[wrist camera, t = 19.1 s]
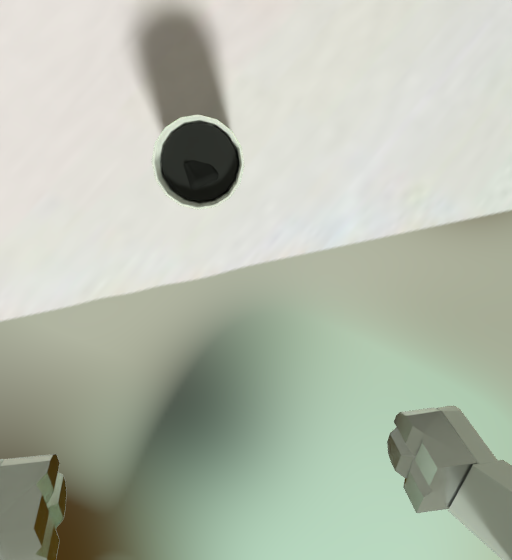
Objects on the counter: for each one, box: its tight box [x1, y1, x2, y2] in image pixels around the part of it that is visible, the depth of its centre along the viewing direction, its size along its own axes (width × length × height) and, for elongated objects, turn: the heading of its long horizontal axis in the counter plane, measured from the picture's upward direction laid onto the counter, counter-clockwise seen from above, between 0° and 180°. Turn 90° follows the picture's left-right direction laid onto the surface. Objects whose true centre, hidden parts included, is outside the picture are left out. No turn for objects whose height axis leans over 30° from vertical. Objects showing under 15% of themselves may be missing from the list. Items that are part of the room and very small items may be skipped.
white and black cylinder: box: [152, 115, 244, 210], centre depth 36 cm, size 7×7×10 cm
